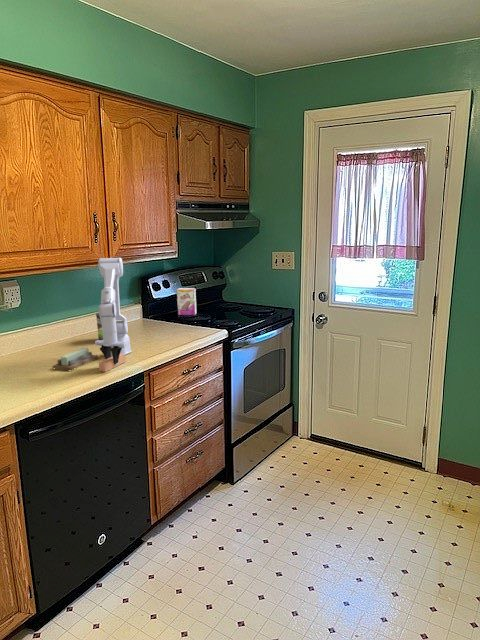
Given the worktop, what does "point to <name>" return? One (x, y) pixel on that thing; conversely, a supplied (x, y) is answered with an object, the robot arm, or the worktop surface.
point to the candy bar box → (186, 301)
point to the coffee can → (99, 327)
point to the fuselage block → (73, 355)
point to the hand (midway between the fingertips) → (112, 362)
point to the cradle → (76, 362)
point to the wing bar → (111, 363)
